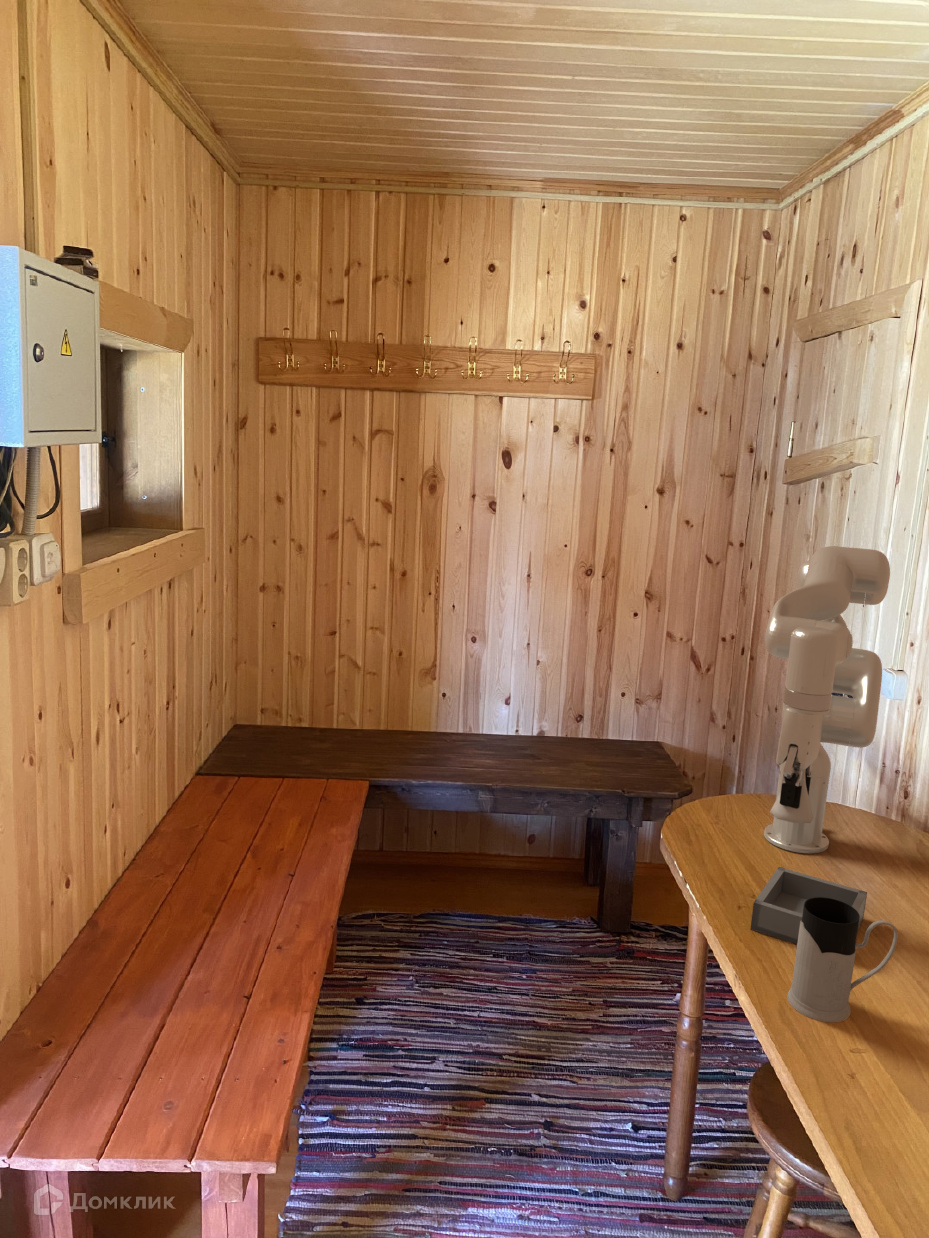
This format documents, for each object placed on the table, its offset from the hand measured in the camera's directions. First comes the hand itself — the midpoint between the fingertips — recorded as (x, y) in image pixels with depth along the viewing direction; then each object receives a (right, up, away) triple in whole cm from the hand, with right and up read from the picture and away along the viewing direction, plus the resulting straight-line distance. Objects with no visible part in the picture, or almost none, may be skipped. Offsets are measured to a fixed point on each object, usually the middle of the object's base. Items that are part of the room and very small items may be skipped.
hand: (793, 800), depth 158 cm
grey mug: (-2, -25, -24) cm, 35 cm away
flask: (0, -3, +1) cm, 3 cm away
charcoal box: (+2, -21, -2) cm, 21 cm away
